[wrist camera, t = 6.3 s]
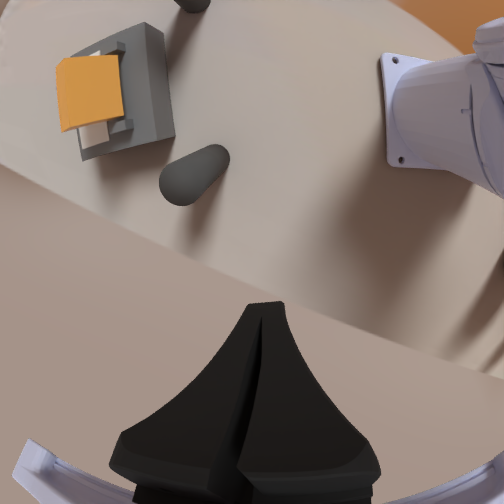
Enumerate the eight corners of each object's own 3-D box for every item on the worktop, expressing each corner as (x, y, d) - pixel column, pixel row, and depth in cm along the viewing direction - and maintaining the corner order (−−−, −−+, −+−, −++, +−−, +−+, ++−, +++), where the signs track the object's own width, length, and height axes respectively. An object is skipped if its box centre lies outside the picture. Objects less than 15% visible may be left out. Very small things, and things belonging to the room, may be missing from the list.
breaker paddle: (117, 54, 11) (64, 58, 8) (123, 115, 13) (69, 127, 10) (106, 62, 11) (55, 67, 9) (113, 119, 13) (61, 132, 10)
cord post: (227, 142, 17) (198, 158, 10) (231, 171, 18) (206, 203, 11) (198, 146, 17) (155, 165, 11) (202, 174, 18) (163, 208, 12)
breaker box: (163, 33, 13) (136, 17, 9) (175, 136, 17) (149, 142, 13) (94, 60, 14) (61, 55, 10) (105, 153, 17) (73, 164, 14)
